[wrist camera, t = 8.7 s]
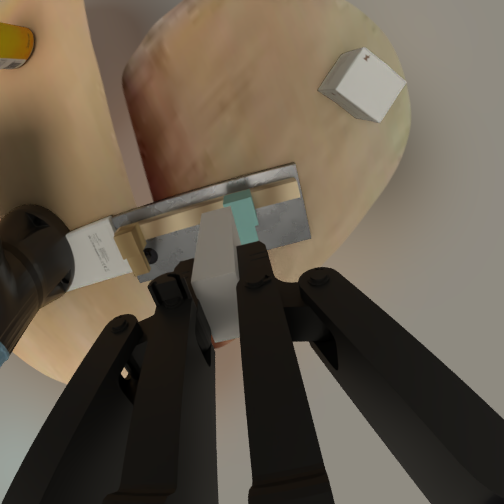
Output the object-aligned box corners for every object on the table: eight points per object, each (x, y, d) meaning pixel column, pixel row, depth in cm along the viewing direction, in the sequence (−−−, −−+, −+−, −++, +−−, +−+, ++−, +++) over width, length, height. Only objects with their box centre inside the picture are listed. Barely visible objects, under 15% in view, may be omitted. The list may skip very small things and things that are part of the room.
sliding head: (237, 235, 41) (238, 254, 36) (224, 191, 38) (222, 204, 34) (261, 229, 41) (264, 247, 36) (248, 184, 38) (250, 197, 33)
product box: (315, 90, 34) (333, 89, 28) (341, 52, 32) (364, 44, 26) (355, 119, 36) (380, 124, 30) (380, 82, 34) (408, 81, 27)
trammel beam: (134, 262, 42) (123, 282, 38) (117, 224, 39) (104, 240, 35) (302, 217, 41) (311, 233, 36) (293, 173, 38) (301, 183, 33)
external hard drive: (46, 240, 41) (111, 214, 40) (70, 287, 44) (136, 267, 43) (40, 245, 39) (107, 218, 38) (66, 292, 43) (133, 273, 42)
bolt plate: (141, 279, 44) (140, 283, 43) (113, 215, 40) (110, 218, 39) (309, 235, 43) (311, 238, 42) (293, 162, 38) (295, 164, 37)
